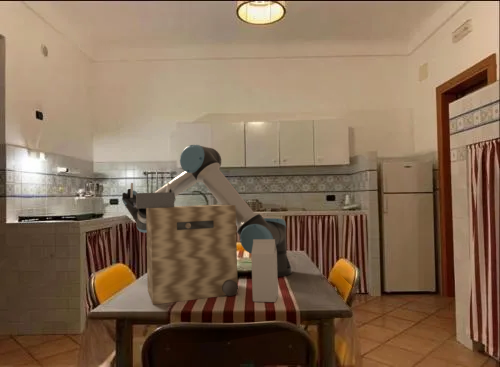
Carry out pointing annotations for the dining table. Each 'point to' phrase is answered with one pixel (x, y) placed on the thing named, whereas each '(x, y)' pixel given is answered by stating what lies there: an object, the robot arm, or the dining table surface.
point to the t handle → (154, 200)
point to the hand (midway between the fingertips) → (150, 186)
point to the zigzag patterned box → (191, 252)
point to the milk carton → (264, 270)
